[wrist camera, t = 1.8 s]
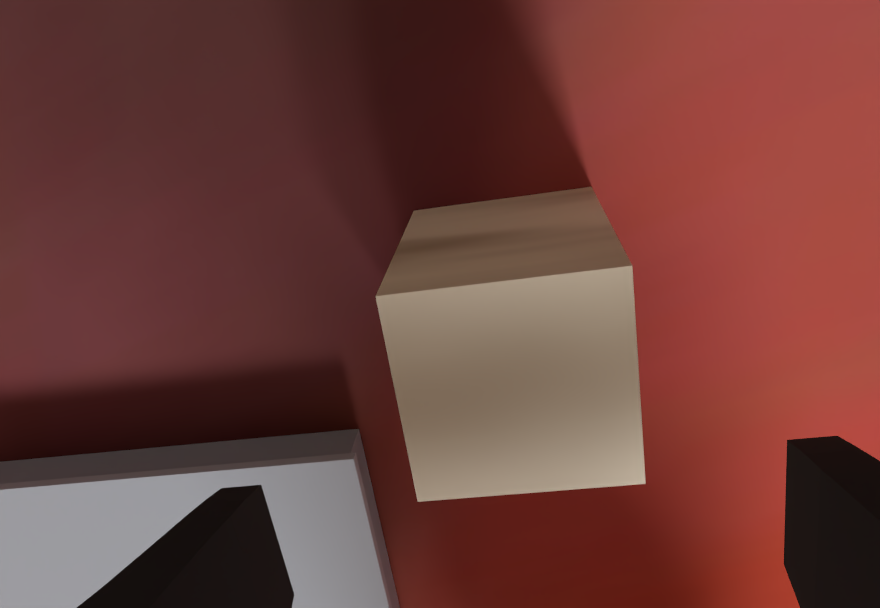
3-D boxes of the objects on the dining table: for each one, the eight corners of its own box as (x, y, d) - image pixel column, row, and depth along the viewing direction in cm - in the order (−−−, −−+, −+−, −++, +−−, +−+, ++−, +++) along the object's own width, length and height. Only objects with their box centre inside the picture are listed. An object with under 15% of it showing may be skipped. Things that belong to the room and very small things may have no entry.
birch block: (604, 348, 19) (645, 483, 14) (441, 365, 20) (417, 502, 14) (591, 186, 18) (632, 265, 12) (413, 210, 18) (375, 296, 13)
